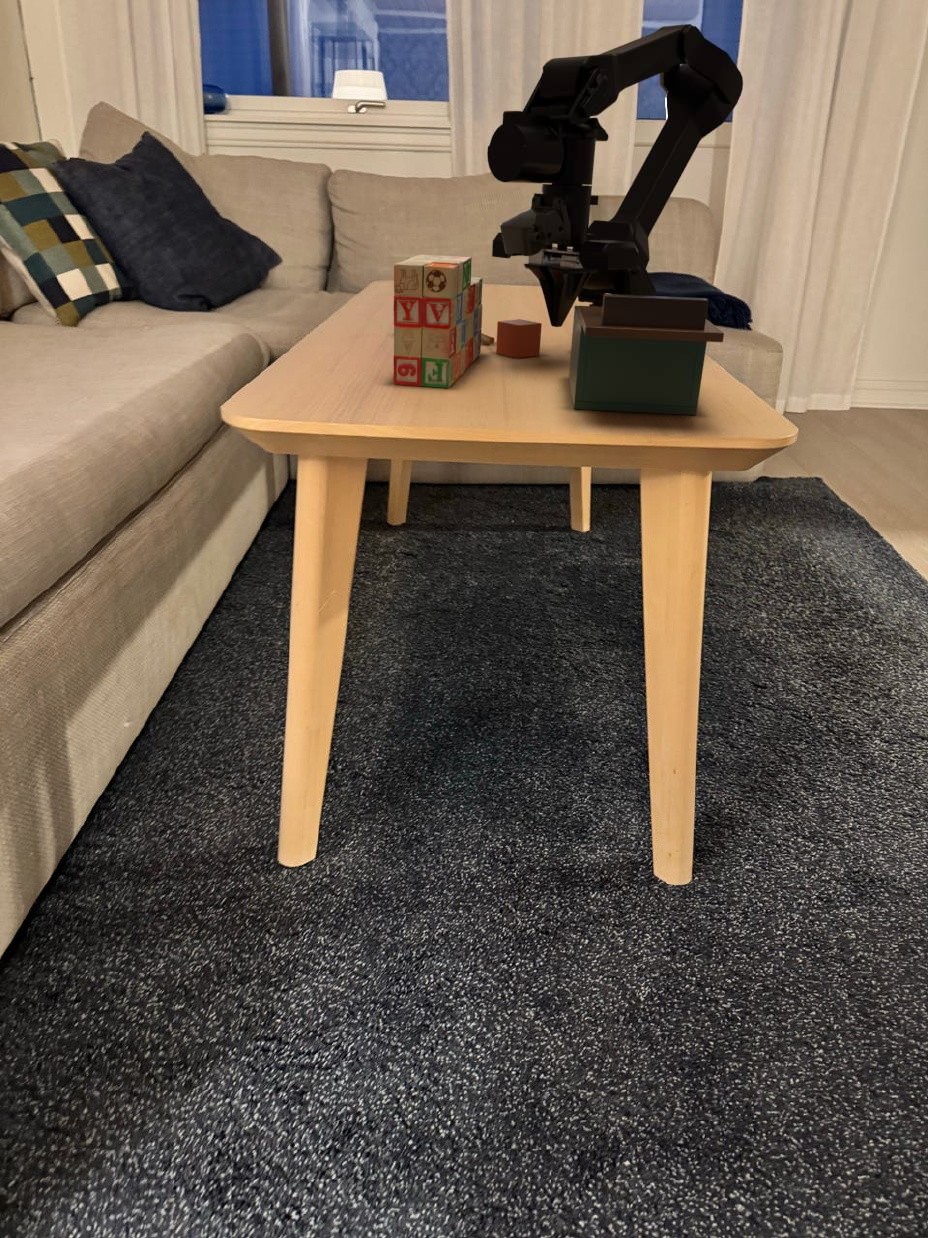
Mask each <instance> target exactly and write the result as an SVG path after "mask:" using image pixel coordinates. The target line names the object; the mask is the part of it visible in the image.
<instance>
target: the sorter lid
mask: <svg viewBox="0 0 928 1238" xmlns="http://www.w3.org/2000/svg"><path fill="white" fill-rule="evenodd" d="M577 306H578V316H579V319H580V322H581V325H582V328H583V331H584V334H585V336H596V337H617V338H639V339H661V340H683V341H704V342H707V343H723V342H724V336H725V333H724V332H723V331H722V330H721V329H720V328H719V327H717V326H716V325H715V324H714V323H712V322H711V321H710V320H708V319H707V315H708V308H709V299H708V298H705V297H688V296H687V297H684V296H661V295H655V296H642V295H619V294H607V293H606V294H604V297H603V307H599V306H589V305H577Z"/></svg>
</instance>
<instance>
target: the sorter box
mask: <svg viewBox="0 0 928 1238" xmlns="http://www.w3.org/2000/svg"><path fill="white" fill-rule="evenodd" d="M578 306H579V305H574V309H573V323H572V335H571V347H570V358H569V371H568V372H569V373H568V383H569V389H570V395H571V400H572V407H573V410H582V411H584V410H585V411H586V410H587V411H604V412H622V413H623V412H625V413H643V414H645V413H646V414H663V415H685V416H696V415H697V412H698V404H699V399H700V392H701V385H702V379H703V370H704V366H705V365H704V364H705V358H706V351H707V343H708V342H704V341H683V340H661V339H639V338H617V337H596V336H585V334H584V331H583V328H582V325H581V322H580V319H579V316H578Z"/></svg>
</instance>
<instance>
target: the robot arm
mask: <svg viewBox="0 0 928 1238" xmlns="http://www.w3.org/2000/svg"><path fill="white" fill-rule="evenodd" d="M657 75H659V85H660V87H661V89H663V91H664V92H665V93H666V95H665V113H666V120H665V122H664V124H663V126H662V128H661V130H660V132H659V134H658V135H657V137H656V139H655V141H654V142H653V145H652V146H651V148H650V150H649V152H648V153H647V156H646V157H645V160H643V163H642V165H641V166H640V169H639V170H638V172H637V174H636V176H635V178H634V179H633V181H632V183H631V185H630V187H629V189H628V191H627V192H626V194H625V196H624V198H623V200H622V201H621V203H620V205H619V207H618V208H617V211H616V213H615V214H614V216H613V217H612V218H611V219H609V220H600V219H594V220H593V221H592V222H591V223H590V215H591V206H599V195H594V194H592V191H593V179H594V167H595V166H594V165H595V157H596V156H595V154H596V144H597V143H596V142H608V140H609V138H610V137H609V133H608V132H607V130H606V129H605V128H603V126H602V125H601V123H600V121H599V119H598V116H599V115H601V114H602V113H603V112H605V111H607V109H608V108H610V107H611V106H612V105H614V104H615V103H616V102H617V100H618V99H619V96H620V93H622V92H623V91H624V90H625V89H627V88H629V87H632V86H634V85H636V84H639V83H641V82H644V81H646V80H648V79H651V78H653V77H655V76H657ZM743 90H744V79H743V75H742V72H741V71H740V70H739V67H738V66H737V64H736V63H735V62H734V60H733V59H732V57H731V55H730V54H729V53H728V52H727V51H726V50H724V49H722V48H721V47H719V46H717V44H714V43H713V42H712V41H710V40H709V39H707V38H706V37H705V36H704V34H703V33H702V31H701V30H700V29H699V28H698V27H697V26H696V25H693V24H691V23H686V24H685V23H684V24H676V25H666V26H661V27H659V29H656V30H655V31H654V32H652V33H649V34H647V35H644V36H642V37H639V38H637V39H634V40H632V41H630V42H627V43H624V44H622V45H619V46H617V47H614V48H612V49H609V50H607V51H604V52H602V53H599V54H591V55H579V56H577V55H576V56H567V57H565V56H564V57H555V58H550V59H549V60H548V61H546V62H545V63H544V65H543V66H542V73H541V75H540V77H539V79H538V82H537V84H536V85H535V87H534V89H533V91H532V92H531V95H530V96H529V98H528V100H527V102H526V104H525V106H524V108H523V109H522V110H504V111H503V112H502V123H501V124H500V125H499V126H498V127H497V128H496V129H495V131H494V132H493V133H492V136H491V138H490V142H489V145H488V146H487V150H486V151H487V152H486V153H487V154H486V155H487V158H486V159H487V162H488V167H489V170H490V173H491V174H492V176H493V177H494V178H495V179H496V180H497V181H499V182H501V183H507V184H509V183H513V184H541V192H539V193H536V192H534V193H533V196H532V198H531V205H530V209H528V210H526V211H523V212H520V213H519V214H516V215H514V216H512V217H510V218H509V219H506V220H505V221H503V222H501V223H500V224H499V229H500V232H497V234H496V235H495V236H494V238H493V239H492V248H491V257H492V258H499V259H500V258H501V259H511V257H528V261H527V263H523V266H524V268H525V269H528V270H530V272H531V273H532V274H533V275H534V276H535V278H537V280H538V282H539V285H540V288H541V291H542V295H543V299H544V303H545V306H546V309H547V310H546V311H547V314H548V318H549V323H550V326H551V327H553V328H560V327H562V326H563V325H564V323H565V322H566V319H567V317H568V316H569V313H570V311H571V309H572V308H573V306H574V304H575V302H576V300H577V299H578V300H577V301H578V302H579V303H589V305H588V306H599V307H603V297H604V294H619V295H642V296H656V294H657V289H656V286H655V285H654V283H653V281H652V278H651V276H650V274H649V273H648V270H647V267H648V264H649V262H650V258H651V257H650V243H649V242H650V241H649V237H650V235H651V233H652V231H653V229H654V228H655V225H656V223H657V222H658V220H659V218H660V216H661V214H662V212H663V211H664V208H665V206H667V203H668V201H669V200H670V198H671V196H672V194H673V193H674V190H675V188H676V186H677V185H678V183H679V181H680V180H681V177H682V176H683V174H684V171H685V170H686V168H687V166H688V164H689V162H690V161H691V159H692V157H693V154H694V153H695V151H696V149H697V148H698V146H699V144H700V142H701V141H702V140H703V139H704V138H706V137H707V136H708V135H710V134H711V133H713V132H714V131H715V130H716V129H718V128H719V127H720V126H722V125H723V124H724V123H725V121H726V120H727V119H728V117H729V116H730V114H731V113H732V112H733V110H734V109H735V108H736V106H737V104H738V103H739V100H740V97H742V93H743ZM553 245H557V246H553Z"/></svg>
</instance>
